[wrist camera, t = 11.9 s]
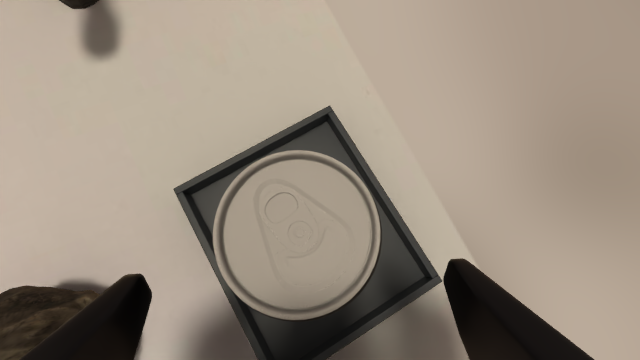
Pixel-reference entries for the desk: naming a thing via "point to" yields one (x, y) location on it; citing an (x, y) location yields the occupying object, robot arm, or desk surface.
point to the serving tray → (381, 291)
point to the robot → (79, 3)
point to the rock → (35, 316)
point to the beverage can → (297, 236)
